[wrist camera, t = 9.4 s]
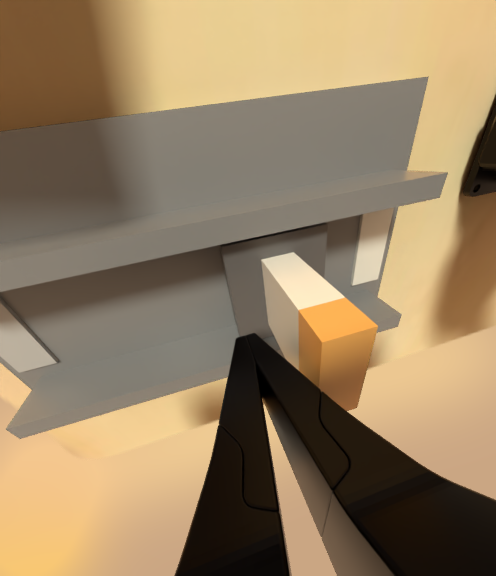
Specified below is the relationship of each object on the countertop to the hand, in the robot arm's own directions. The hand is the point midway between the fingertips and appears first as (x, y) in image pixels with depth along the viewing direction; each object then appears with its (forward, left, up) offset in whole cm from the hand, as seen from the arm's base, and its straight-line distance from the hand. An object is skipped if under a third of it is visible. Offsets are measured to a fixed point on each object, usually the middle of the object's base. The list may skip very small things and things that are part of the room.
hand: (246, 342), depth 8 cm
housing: (+1, 0, -6) cm, 6 cm away
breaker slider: (-2, 0, -5) cm, 5 cm away
